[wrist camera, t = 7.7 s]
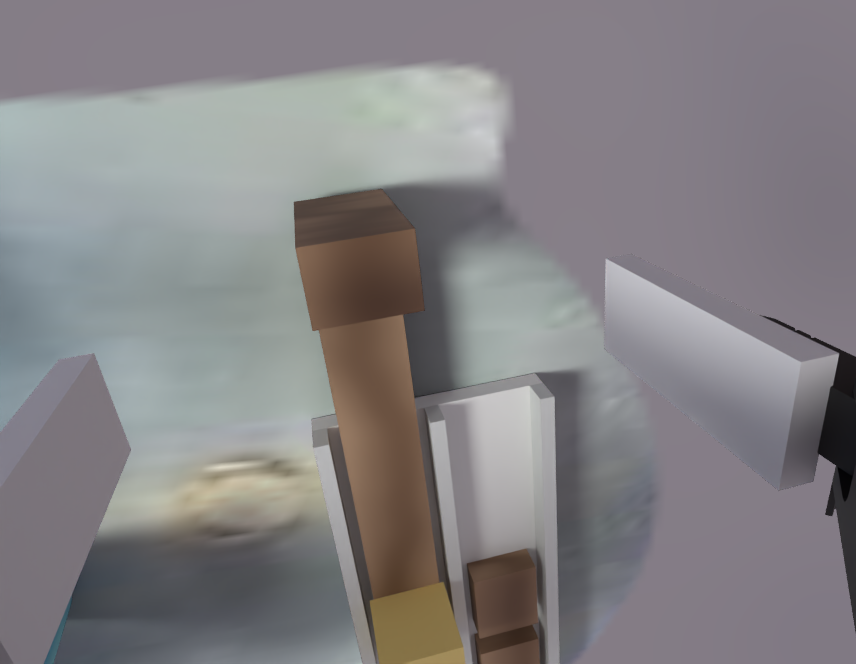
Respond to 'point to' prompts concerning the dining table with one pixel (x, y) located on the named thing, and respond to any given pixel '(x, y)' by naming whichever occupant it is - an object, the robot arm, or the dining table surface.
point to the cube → (417, 628)
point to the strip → (372, 372)
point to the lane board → (465, 498)
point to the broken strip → (505, 608)
